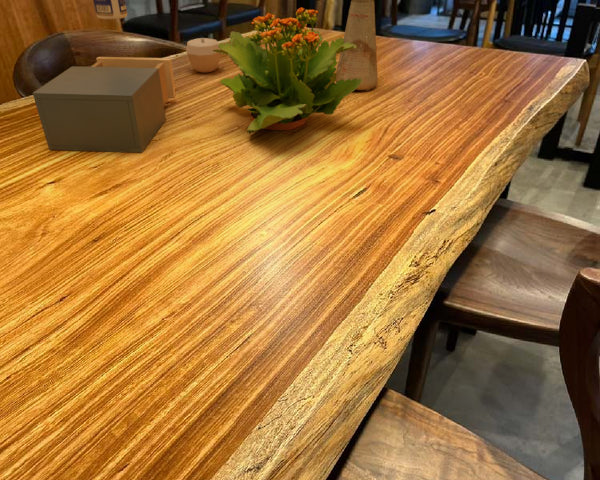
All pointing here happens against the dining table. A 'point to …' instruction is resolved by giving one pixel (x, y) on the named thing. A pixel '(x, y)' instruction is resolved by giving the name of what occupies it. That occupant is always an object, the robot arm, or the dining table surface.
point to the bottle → (360, 46)
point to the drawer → (160, 63)
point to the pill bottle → (110, 9)
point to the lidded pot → (203, 54)
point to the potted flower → (286, 72)
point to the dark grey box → (101, 109)
